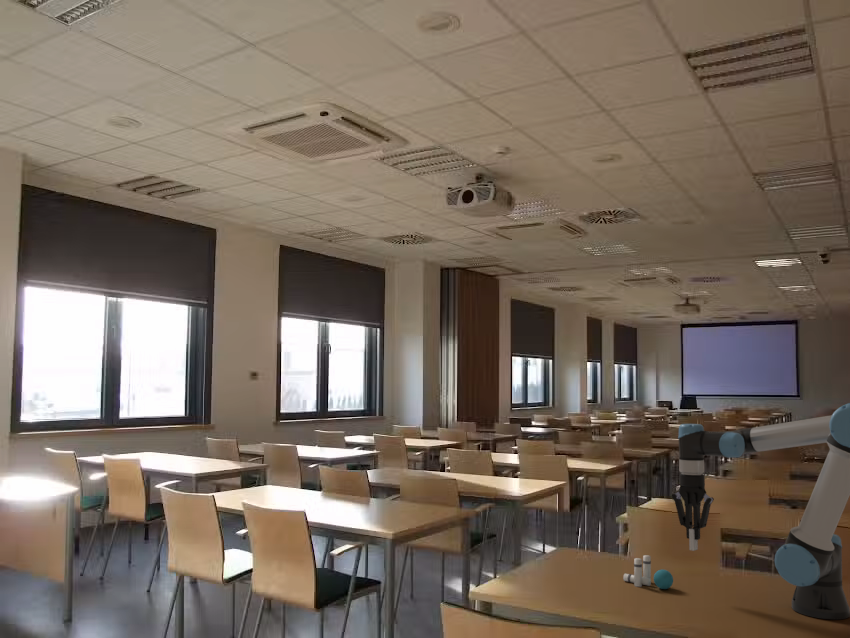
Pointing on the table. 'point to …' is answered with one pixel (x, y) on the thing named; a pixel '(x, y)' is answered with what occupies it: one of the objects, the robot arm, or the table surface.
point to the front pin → (631, 579)
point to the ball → (663, 579)
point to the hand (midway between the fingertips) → (693, 549)
